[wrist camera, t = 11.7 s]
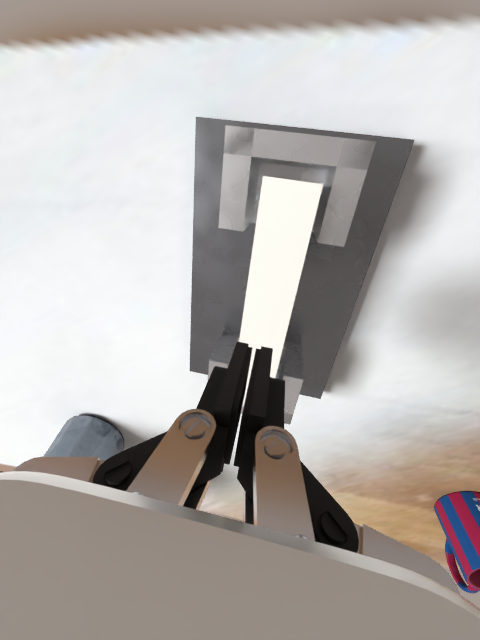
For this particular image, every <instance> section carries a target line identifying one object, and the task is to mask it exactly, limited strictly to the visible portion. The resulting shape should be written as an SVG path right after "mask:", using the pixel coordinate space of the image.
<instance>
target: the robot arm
mask: <svg viewBox="0 0 480 640" xmlns="http://www.w3.org/2000/svg"><path fill="white" fill-rule="evenodd" d="M248 345H249V344H247V343H242V342H237V343H236V346H235V349H234V352H233V354H232V357H231V360H230V363H229V366H228V368H223V367H218V366H215V367H214V368H213V371H212V373H211V375H210V378H209V380H208V382H207V385H206V387H205V390H204V392H203V394H202V397H201V399H200V401H199V404H198V406H197V408H196V409H191V410H187V411H185V412H183V413H182V414H181V415H180V416H179V417H178V418H177V419H176V420H175V422H174V423H173V425H172V426H171V427H170V429H169V430H168V431H167V432H165V433H163V434H160V435H158V436H156V437H154V438H151V439H149V440H147V441H145V442H143V443H140V444H138V445H136V446H134V447H131V448H129V449H127V450H125V451H122V452H120V453H118V454H116V455H113V456H112V457H110V458H108V459H107V460H100V459H99V457H38V458H33V459H30V460H28V461H26V462H24V463H22V464H21V465H19V466H18V467H16V468H15V469H14V470H13V471H12V472H2V473H0V640H480V609H479V608H478V607H476V606H475V605H474V604H472V603H471V602H470V601H468V600H467V599H465V598H463V597H462V596H460V593H459V591H458V588H457V586H456V584H455V582H454V581H453V579H452V578H451V576H450V575H449V573H448V572H447V571H446V570H445V569H444V568H443V567H442V566H441V565H440V564H439V563H437V562H436V561H435V560H433V559H432V558H430V557H428V556H426V555H424V554H422V553H420V552H418V551H416V550H414V549H412V548H410V547H408V546H406V545H404V544H402V543H400V542H398V541H396V540H394V539H392V538H390V537H388V536H386V535H384V534H382V533H380V532H378V531H376V530H374V529H372V528H370V527H368V526H366V525H364V524H363V525H362V526H359V525H357V524H355V523H353V521H352V520H351V518H350V517H349V516H348V514H347V513H346V512H345V511H344V510H343V509H342V507H341V506H340V505H339V504H338V503H337V502H336V501H335V499H334V498H333V497H332V496H331V495H330V494H329V493H328V492H327V490H326V489H325V488H324V487H323V486H322V485H321V484H320V482H319V481H318V480H317V479H316V478H315V477H314V476H313V475H312V473H311V472H310V471H309V470H308V469H307V468H306V467H305V465H304V464H303V463H302V462H301V461H300V458H299V452H298V447H297V444H296V441H295V439H294V437H293V436H292V435H291V434H290V433H289V432H288V431H287V430H285V429H284V408H285V380H282V379H277V378H272V377H270V371H271V362H272V353H273V348H268V347H263V346H261V349H257V348H256V352H255V356H254V361H253V366H252V370H251V375H250V380H249V385H248V389H247V394H246V399H245V403H244V408H243V413H242V419H241V425H240V431H239V437H238V443H237V449H236V455H235V460H234V466H238V467H239V470H238V476H237V479H238V480H239V482H240V484H241V485H242V487H243V488H244V499H243V522H241V521H237V520H233V519H229V518H225V517H222V516H218V515H214V514H210V513H206V512H203V511H199V508H200V506H201V503H202V501H203V499H204V496H205V494H206V492H207V489H208V487H209V484H210V480H211V479H213V478H215V477H216V476H218V475H220V473H221V472H222V471H223V467H224V463H225V464H230V460H231V455H232V450H233V446H234V441H235V437H236V432H237V428H238V423H239V419H240V414H241V410H242V405H243V400H244V396H245V390H246V384H247V378H248V372H249V366H250V360H251V354H252V347H248Z"/></svg>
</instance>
